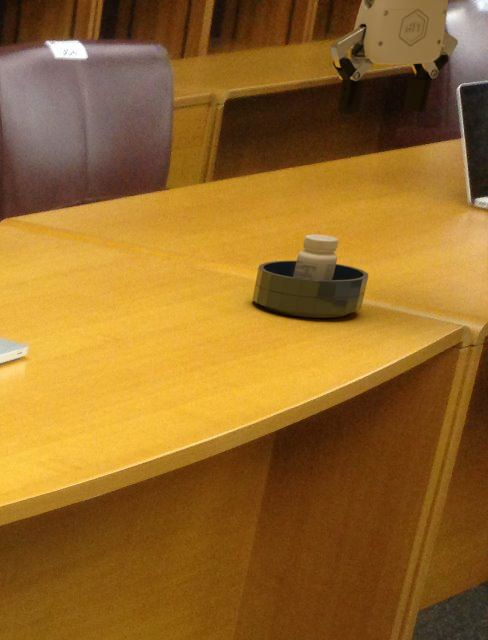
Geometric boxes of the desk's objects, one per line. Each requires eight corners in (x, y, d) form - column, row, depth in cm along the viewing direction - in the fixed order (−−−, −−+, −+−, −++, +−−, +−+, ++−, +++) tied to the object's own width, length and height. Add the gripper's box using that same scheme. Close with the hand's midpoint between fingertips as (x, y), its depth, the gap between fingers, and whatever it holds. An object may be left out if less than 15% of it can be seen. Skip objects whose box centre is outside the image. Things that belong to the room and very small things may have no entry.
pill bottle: (317, 298, 204) (333, 234, 200) (331, 307, 200) (348, 242, 196) (281, 297, 204) (296, 233, 200) (295, 306, 200) (311, 240, 196)
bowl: (381, 317, 197) (390, 278, 195) (289, 322, 195) (297, 283, 193) (319, 295, 209) (327, 258, 207) (231, 300, 207) (238, 262, 205)
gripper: (368, -34, 183) (340, 117, 190) (493, -37, 186) (460, 112, 193) (328, -35, 189) (302, 111, 197) (449, -37, 193) (419, 107, 200)
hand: (380, 112), depth 195 cm, fingers open, 9 cm apart
